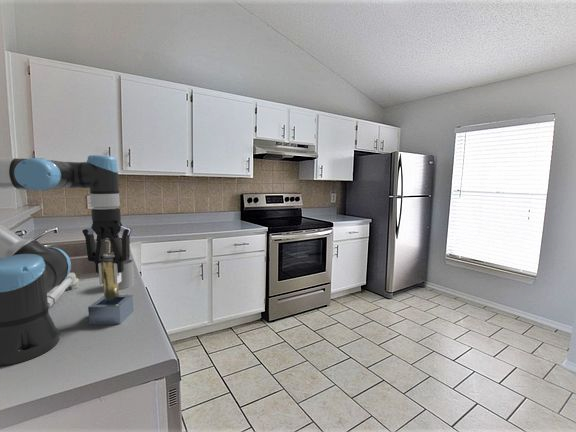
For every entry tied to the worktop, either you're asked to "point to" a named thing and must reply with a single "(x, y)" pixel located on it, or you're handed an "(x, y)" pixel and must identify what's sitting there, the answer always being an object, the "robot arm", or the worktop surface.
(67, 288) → the white knobby-ended rod
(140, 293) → the worktop surface
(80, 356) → the worktop surface
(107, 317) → the open blue-gray rectangular box
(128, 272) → the cup
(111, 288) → the olive tall cylinder
